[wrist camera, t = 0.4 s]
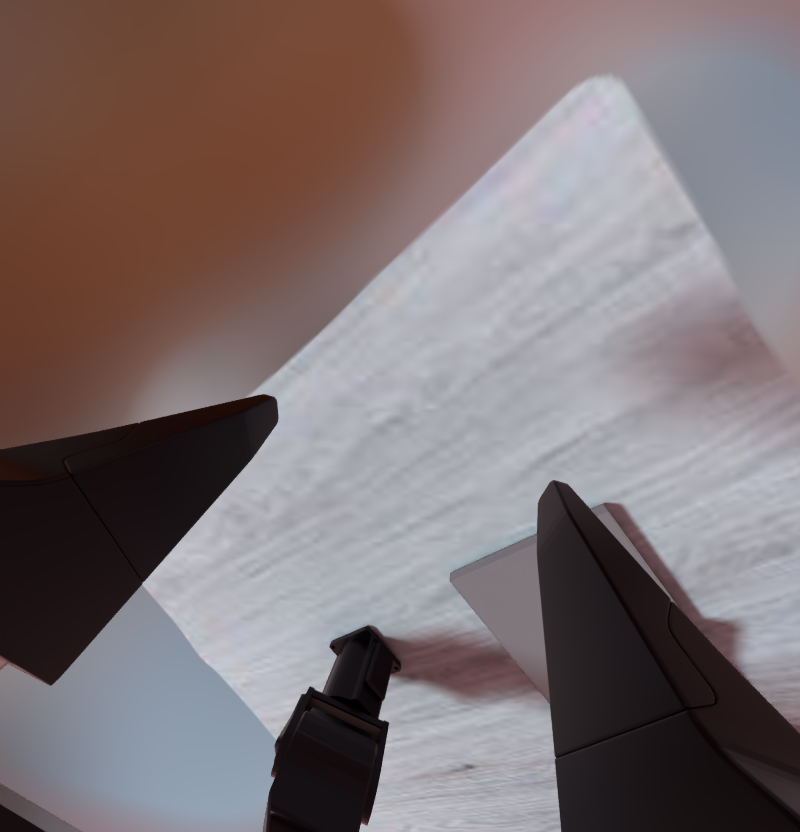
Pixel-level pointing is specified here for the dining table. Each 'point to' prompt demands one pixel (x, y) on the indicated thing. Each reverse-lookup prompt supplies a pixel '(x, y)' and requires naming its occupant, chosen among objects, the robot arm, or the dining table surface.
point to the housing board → (521, 598)
